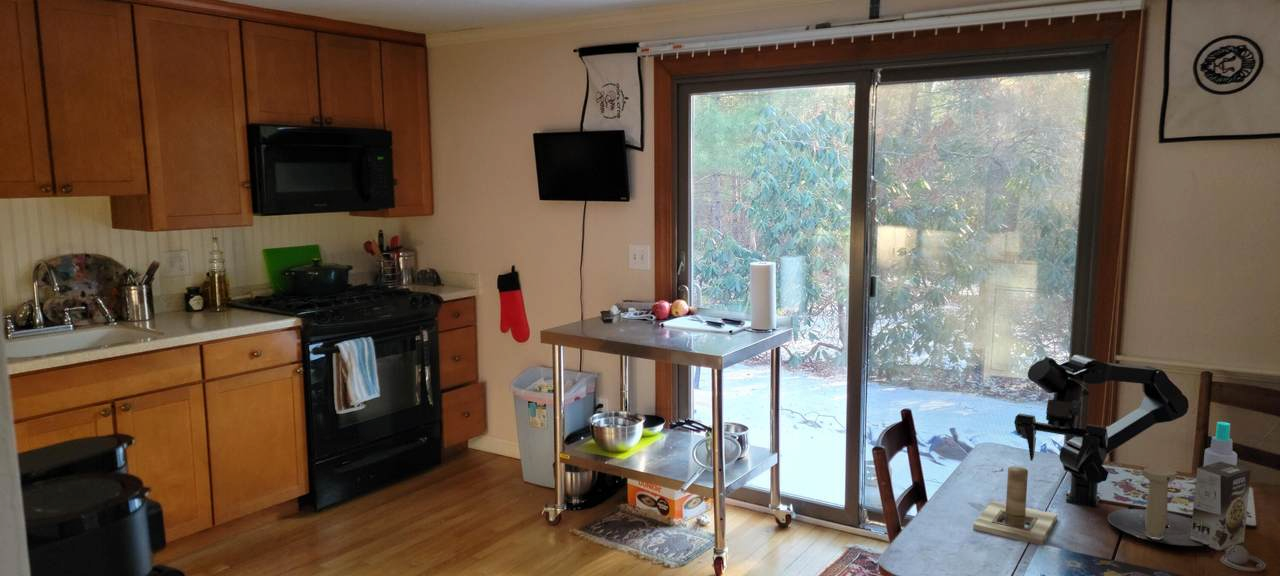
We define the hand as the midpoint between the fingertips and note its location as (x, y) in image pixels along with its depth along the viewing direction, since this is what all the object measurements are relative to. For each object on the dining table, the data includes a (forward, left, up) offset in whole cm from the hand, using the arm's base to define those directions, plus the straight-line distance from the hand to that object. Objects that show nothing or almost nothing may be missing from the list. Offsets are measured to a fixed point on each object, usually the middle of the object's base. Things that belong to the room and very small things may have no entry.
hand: (1053, 463), depth 193 cm
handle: (-3, +20, -14) cm, 25 cm away
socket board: (+6, -6, -14) cm, 16 cm away
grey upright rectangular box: (-9, +31, -14) cm, 35 cm away
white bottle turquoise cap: (-23, +30, -14) cm, 40 cm away
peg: (+7, -6, -14) cm, 16 cm away
